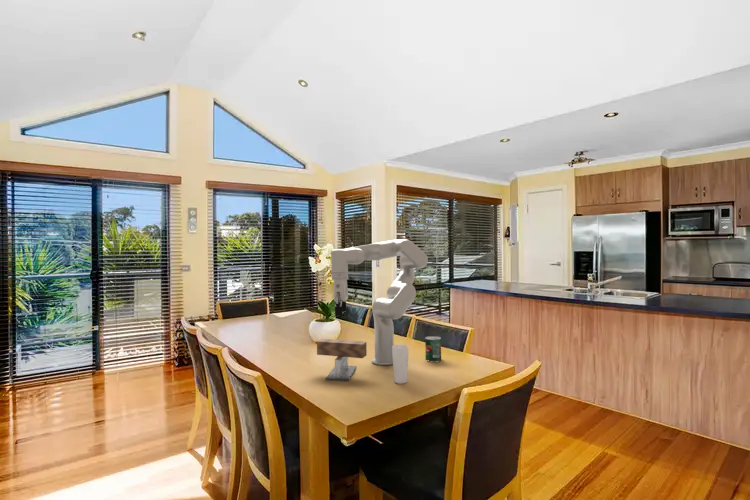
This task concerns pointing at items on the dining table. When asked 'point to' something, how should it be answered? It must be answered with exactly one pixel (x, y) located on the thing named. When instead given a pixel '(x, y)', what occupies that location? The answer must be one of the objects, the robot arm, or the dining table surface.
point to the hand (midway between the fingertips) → (340, 313)
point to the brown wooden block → (341, 348)
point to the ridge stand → (341, 370)
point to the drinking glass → (400, 363)
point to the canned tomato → (433, 348)
